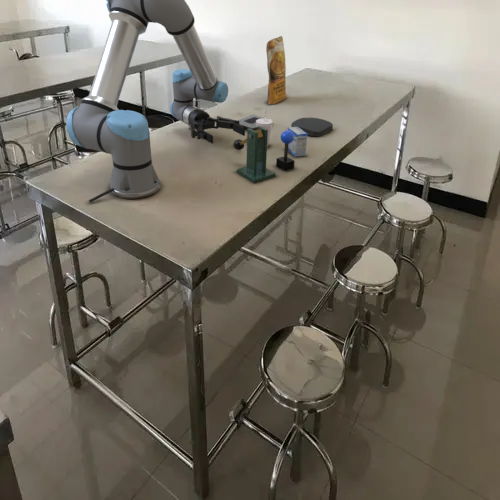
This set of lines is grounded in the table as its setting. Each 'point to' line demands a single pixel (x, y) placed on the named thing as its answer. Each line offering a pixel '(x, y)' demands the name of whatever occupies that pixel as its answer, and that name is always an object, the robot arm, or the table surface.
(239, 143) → the switch lever
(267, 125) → the smoothie
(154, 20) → the robot arm
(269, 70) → the pancake mix bag
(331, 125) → the media streaming box
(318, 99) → the table surface
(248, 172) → the switch bracket
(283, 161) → the blue knob joystick
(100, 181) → the table surface
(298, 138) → the medicine box
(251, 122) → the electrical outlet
